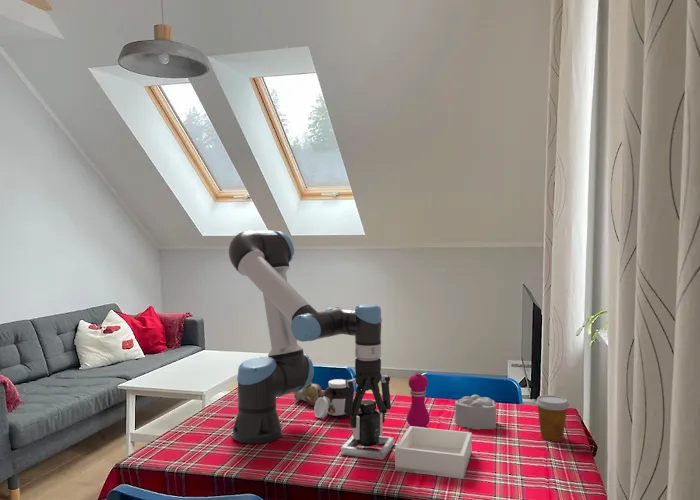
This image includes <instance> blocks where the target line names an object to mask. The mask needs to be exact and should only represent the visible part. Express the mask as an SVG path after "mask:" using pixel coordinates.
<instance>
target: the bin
mask: <svg viewBox="0 0 700 500" xmlns="http://www.w3.org/2000/svg"><path fill="white" fill-rule="evenodd" d="M408 426H409V425H408ZM472 435H473V434H472V431H471V432H468V431H462V430H451V429H441V428H431V427H428V428H424V427H415V426H409V428H408V427H407V429H406V431H405V432H404V433H403V436H402V437H401V438H400V440H399V441H398V443H397V445H396V446H395V448H394V470H395V471H398V472H399V471H400V472H408V473H413V472H414V474H423V475H430V476H436V475H437V477H445V478H451V479H452V478H453V479H461V480H464V478H465V476H466V472H467V469H468V465H469V463H470V459H471V457H472V447H473V446H472V445H473V443H472V442H473V440H472V438H473V437H472Z"/></svg>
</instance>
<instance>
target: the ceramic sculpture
mask: <svg viewBox="0 0 700 500" xmlns="http://www.w3.org/2000/svg"><path fill="white" fill-rule="evenodd" d="M324 392H325V390H323V389H322V386H320V384H318V383H314V382H313V381H311V382H310V384H309V385H308V386H307V387H306V388H304V389H302V390H300V391H298V392H293V394H294V399H295V401H297V402H299V401H304V402H305V403H308V404H309V405H310V406H315V403H316V401H317V399H318V398H320V397H323V396H324Z"/></svg>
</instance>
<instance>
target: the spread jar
mask: <svg viewBox="0 0 700 500" xmlns="http://www.w3.org/2000/svg"><path fill="white" fill-rule="evenodd" d="M346 380H347V379H342V378H340V379H335V378H334V379H331V380H329V381H328V387H326V389H325V390H324V396H323V397H320V398H318V399H317V401H316V403H315V405H314V408H313V409H314V410H313V412H314V416H315V418H319V419H323V418H325V417H326V416H328V417H329V418H331V419H332V418H333V419H345V418H347V417H349V416H348V415H347V414H345V413H344V409H345V399H346V389H347V387H346V383H345V381H346ZM354 398H355V396H353V401H354Z"/></svg>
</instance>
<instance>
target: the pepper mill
mask: <svg viewBox="0 0 700 500" xmlns="http://www.w3.org/2000/svg"><path fill="white" fill-rule="evenodd" d="M428 385H429V384H428V378H427V377H426V376H425V375H424V374H422V371H421V370H420V369H416V370H415V374H412V375H411V376H410V377H409V379H408V387H409V388H410V390H409V392H410V393H409V394H410V395H411V404H410V407H409V408H408V411H407V413H406V414H407V415H406V422H407V423H408V427H407V429H408V428H409V426H415V427H424V428H429V427H428V425H429V423H430V413H429V412H428V409H427V406H426V403H425V398H426V397H425V396H427V393H426V392H427V390H426V389H427V387H428Z"/></svg>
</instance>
